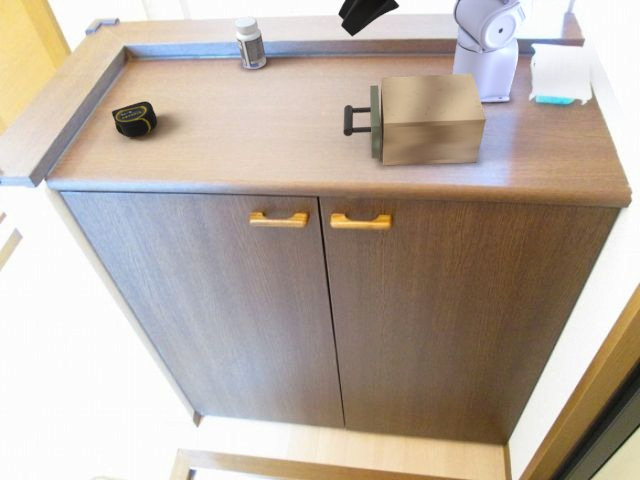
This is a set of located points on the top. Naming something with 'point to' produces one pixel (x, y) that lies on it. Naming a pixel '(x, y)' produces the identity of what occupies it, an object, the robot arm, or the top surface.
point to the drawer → (374, 121)
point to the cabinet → (431, 119)
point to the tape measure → (135, 119)
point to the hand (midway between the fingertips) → (344, 24)
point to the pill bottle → (250, 43)
